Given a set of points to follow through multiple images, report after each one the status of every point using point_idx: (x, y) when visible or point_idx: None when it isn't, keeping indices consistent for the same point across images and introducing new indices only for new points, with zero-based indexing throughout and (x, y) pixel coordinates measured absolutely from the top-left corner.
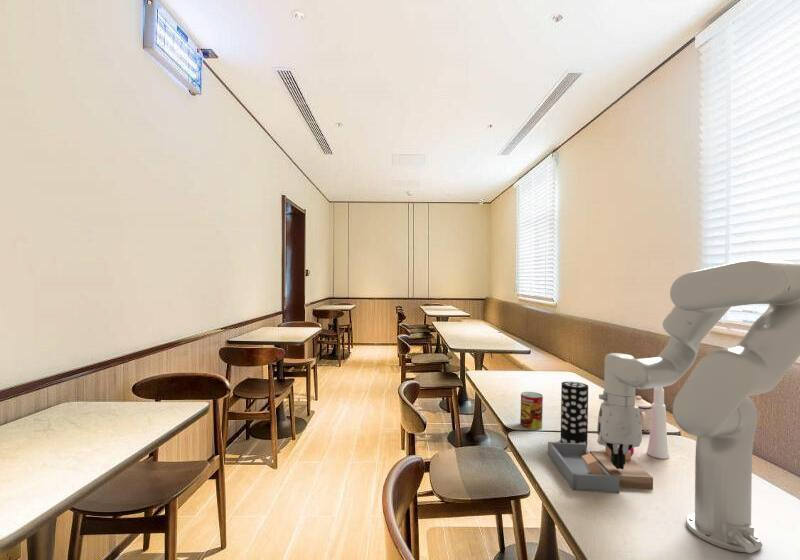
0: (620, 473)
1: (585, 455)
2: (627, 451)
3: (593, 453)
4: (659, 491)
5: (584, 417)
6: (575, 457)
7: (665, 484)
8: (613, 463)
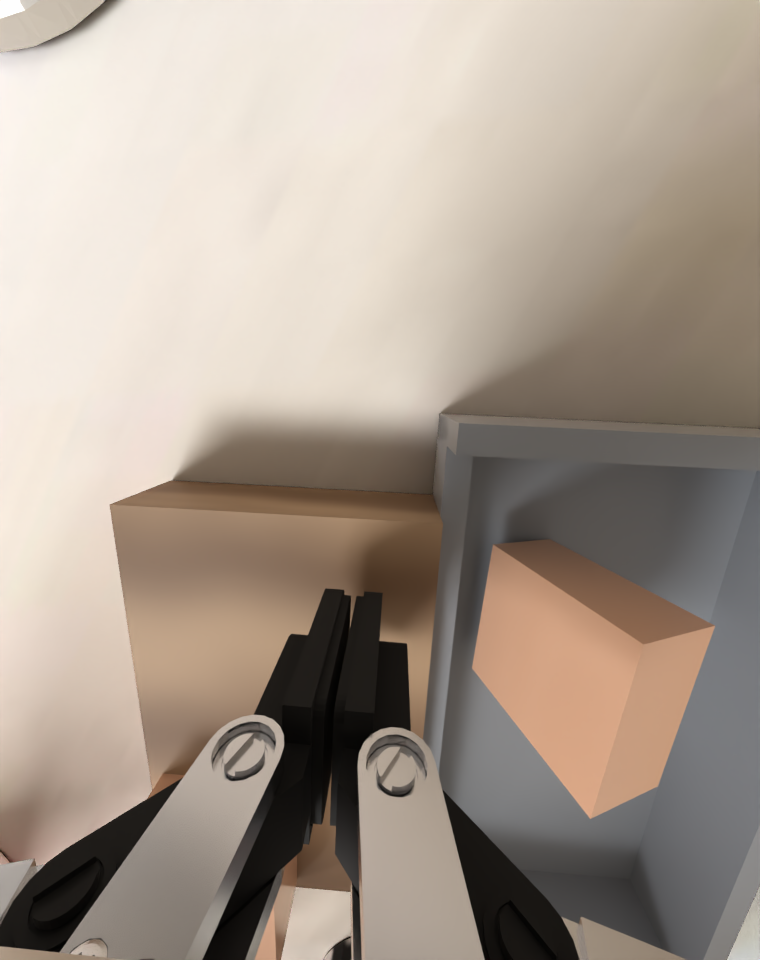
0: (361, 564)
1: (637, 785)
2: (196, 762)
3: None
4: (142, 450)
5: None
6: (491, 840)
7: (62, 545)
8: (405, 646)
